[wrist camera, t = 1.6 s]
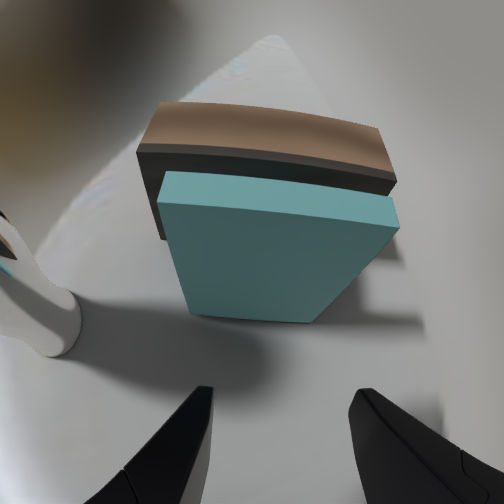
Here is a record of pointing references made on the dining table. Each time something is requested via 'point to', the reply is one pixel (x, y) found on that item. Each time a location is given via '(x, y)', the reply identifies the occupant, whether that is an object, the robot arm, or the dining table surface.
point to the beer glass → (33, 299)
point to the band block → (261, 148)
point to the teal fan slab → (268, 243)
